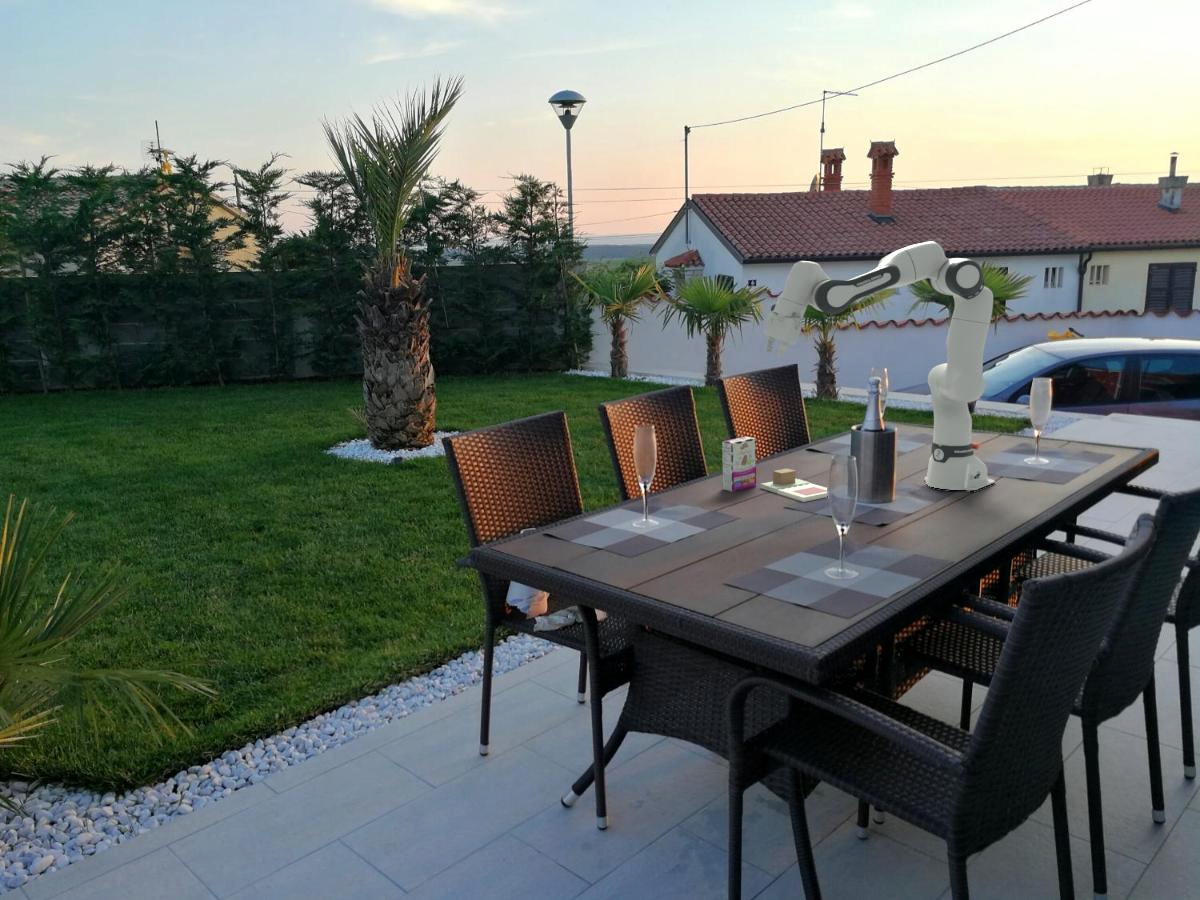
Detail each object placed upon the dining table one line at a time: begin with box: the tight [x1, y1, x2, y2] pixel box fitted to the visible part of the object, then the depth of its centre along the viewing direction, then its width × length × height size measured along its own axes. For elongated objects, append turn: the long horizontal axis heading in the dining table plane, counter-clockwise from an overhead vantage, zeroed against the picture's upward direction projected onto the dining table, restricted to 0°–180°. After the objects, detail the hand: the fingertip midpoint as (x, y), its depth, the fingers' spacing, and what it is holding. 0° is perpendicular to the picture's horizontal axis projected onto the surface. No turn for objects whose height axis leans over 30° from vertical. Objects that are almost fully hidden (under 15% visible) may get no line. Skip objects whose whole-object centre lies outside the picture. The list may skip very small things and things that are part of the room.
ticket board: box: [776, 482, 828, 503], centre depth 265 cm, size 14×12×2 cm
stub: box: [759, 468, 811, 494], centre depth 273 cm, size 14×8×6 cm, turn 119°
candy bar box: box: [721, 436, 757, 493], centre depth 274 cm, size 11×5×16 cm, turn 126°
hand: (773, 353), depth 262 cm, fingers open, 8 cm apart
